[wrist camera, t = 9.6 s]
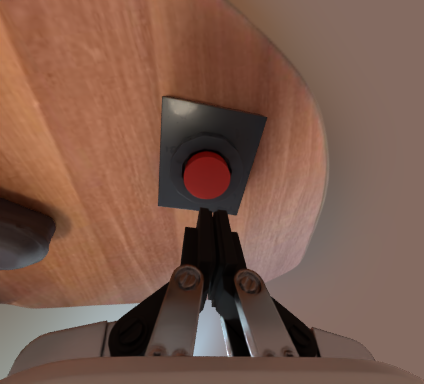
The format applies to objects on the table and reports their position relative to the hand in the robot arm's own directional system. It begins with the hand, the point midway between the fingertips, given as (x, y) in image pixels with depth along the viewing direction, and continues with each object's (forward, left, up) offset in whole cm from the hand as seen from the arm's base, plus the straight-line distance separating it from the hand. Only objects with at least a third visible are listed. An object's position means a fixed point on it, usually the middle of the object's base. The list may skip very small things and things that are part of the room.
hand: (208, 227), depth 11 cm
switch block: (0, 0, -12) cm, 12 cm away
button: (0, 0, -8) cm, 8 cm away
